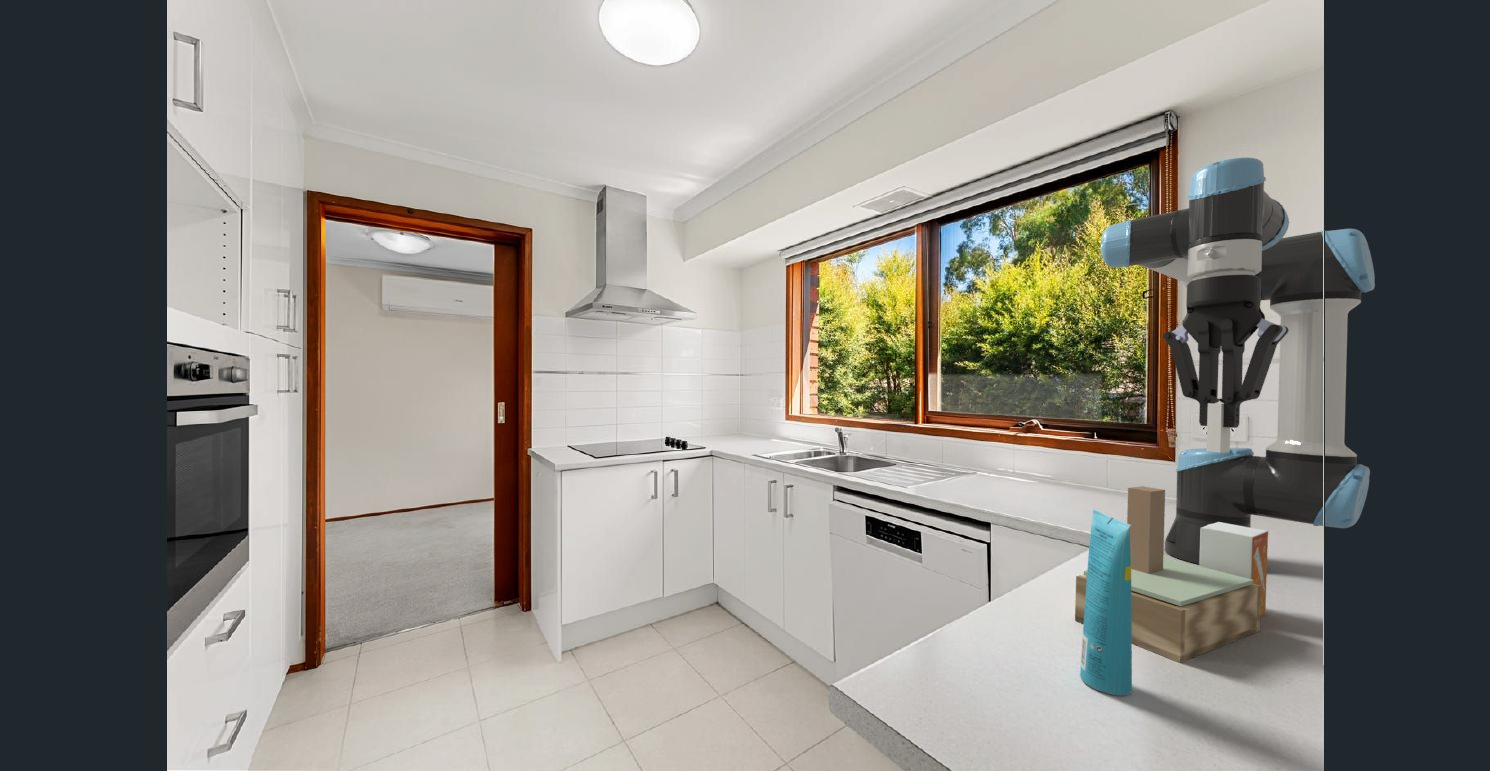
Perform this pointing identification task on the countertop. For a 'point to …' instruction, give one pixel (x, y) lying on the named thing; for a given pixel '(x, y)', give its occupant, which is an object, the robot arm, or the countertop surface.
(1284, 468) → the robot arm
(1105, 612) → the tube
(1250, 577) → the small box
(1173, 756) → the countertop surface
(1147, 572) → the lid
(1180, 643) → the crate
